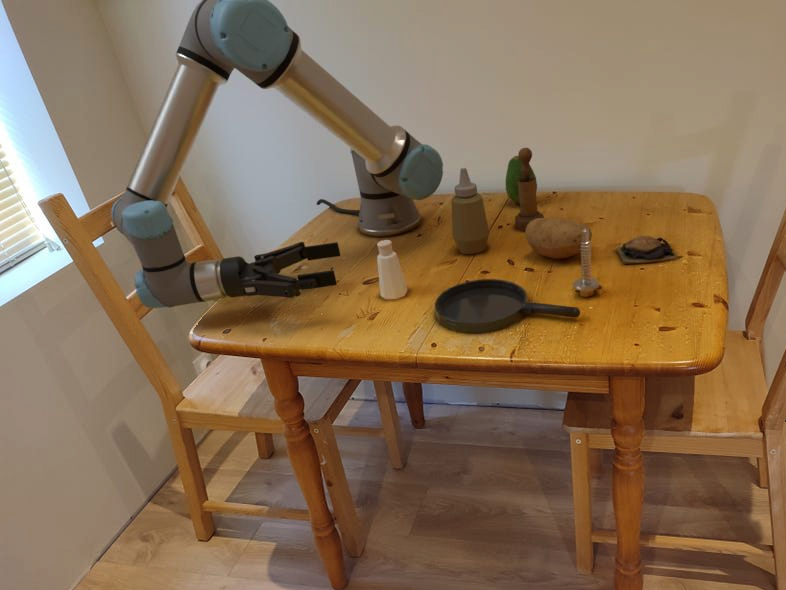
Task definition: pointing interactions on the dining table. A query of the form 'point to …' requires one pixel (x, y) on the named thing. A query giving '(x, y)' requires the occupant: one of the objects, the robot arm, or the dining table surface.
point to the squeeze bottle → (469, 217)
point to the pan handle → (550, 309)
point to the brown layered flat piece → (645, 250)
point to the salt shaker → (390, 272)
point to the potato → (555, 237)
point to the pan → (481, 305)
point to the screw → (586, 269)
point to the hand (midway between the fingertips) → (337, 262)
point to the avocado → (515, 178)
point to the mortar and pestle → (526, 193)
